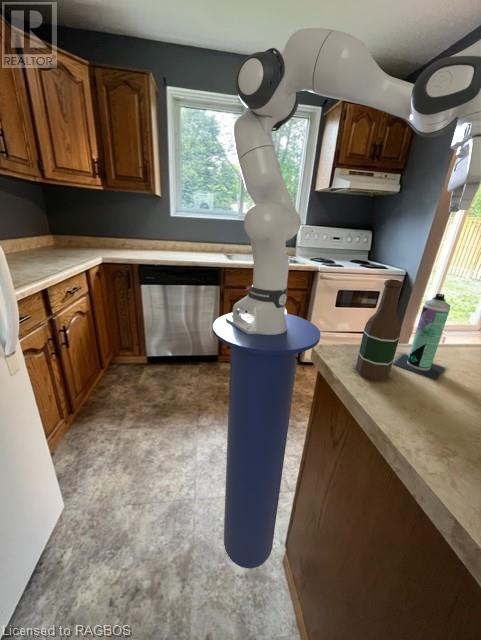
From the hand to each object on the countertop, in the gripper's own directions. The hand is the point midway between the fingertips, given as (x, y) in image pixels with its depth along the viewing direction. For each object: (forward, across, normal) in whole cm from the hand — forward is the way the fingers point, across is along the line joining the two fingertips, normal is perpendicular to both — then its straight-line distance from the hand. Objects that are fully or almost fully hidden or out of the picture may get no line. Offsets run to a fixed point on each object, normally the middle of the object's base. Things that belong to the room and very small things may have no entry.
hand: (457, 211), depth 58 cm
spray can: (+39, -3, +2) cm, 39 cm away
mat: (+39, -3, +2) cm, 39 cm away
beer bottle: (+39, +8, -9) cm, 41 cm away
